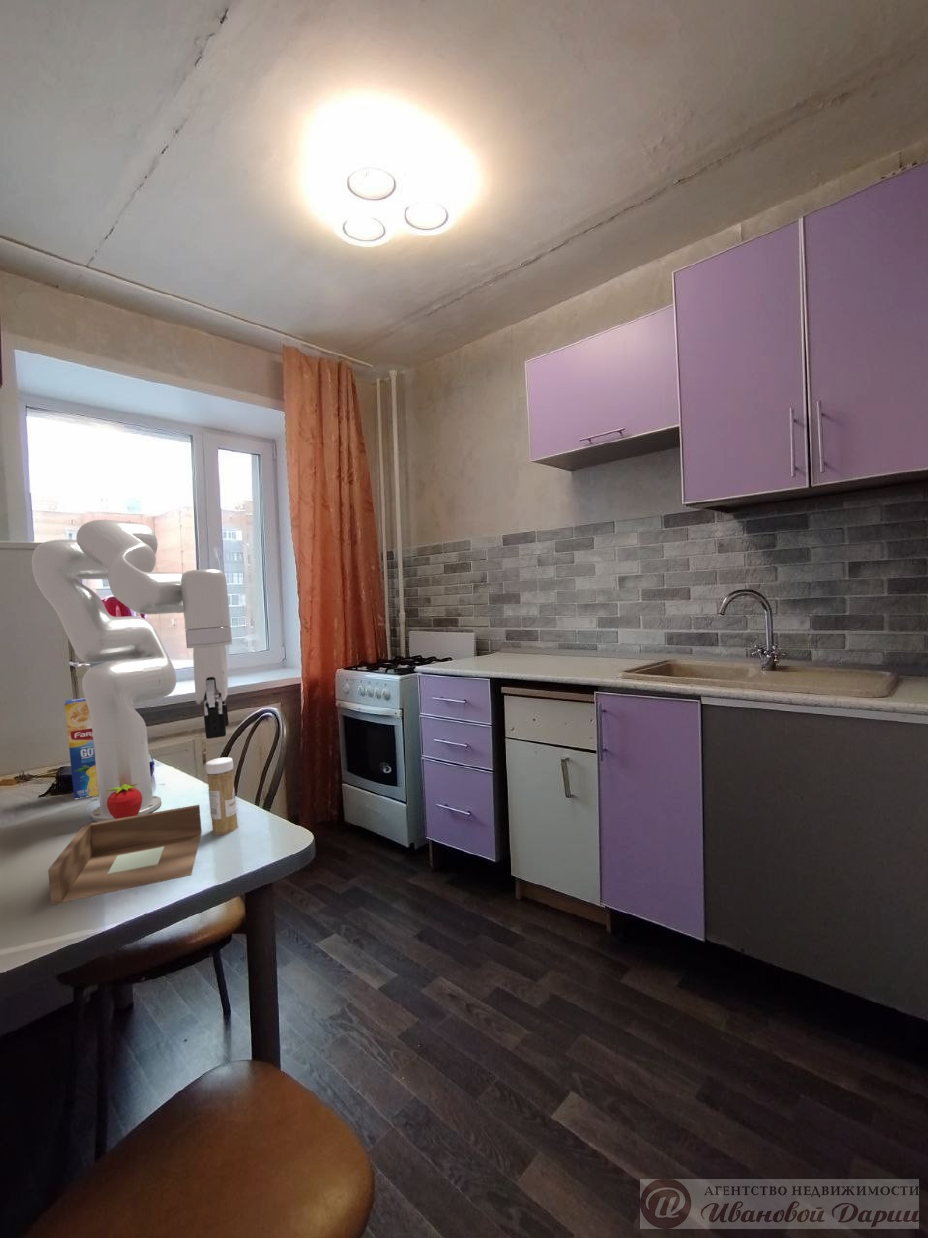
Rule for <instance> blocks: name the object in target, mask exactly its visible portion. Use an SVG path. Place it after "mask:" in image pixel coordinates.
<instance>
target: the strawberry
mask: <svg viewBox="0 0 928 1238" xmlns="http://www.w3.org/2000/svg"><path fill="white" fill-rule="evenodd" d="M118 779H119V778H118ZM119 780H120V779H119ZM121 781H122V780H121ZM122 782H123V781H122ZM135 785H137V784H133V785H126V784H123V785H122V786H121V787H120V788H118V787H117V788H113V789H109V790H106V791H115V792H113V793H112V794H110V796H109V797H108V799H107V807H108V810H109V812H110V814H111V815H112V816H113V817H114V818H115V819H119V818H125V817H131V816H136V815H138V813H139V811H140V809H141V805H142V799H143V798H142V795H141V792H140V791H139V790H138V789H135V788H136V787H133V786H135Z"/></svg>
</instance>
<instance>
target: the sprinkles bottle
mask: <svg viewBox="0 0 928 1238" xmlns="http://www.w3.org/2000/svg"><path fill="white" fill-rule="evenodd" d="M233 769H234V761H233V758H232V757H218V758H214V759H210V760H207V762H206V763H205V771H206V775H207V780H208V781H207V783H208V797H209V800H208V801H209V809H210V818H211V825H212V826H211V827H212V831H211V832H212V833H211V834H213V835H218V836H219V835H226V834H229V833H233V832H234V831H236V830H238V829H239V824H238V816H237V803H236V792H235V784H234V781H235V780H234V774H233Z"/></svg>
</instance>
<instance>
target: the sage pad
mask: <svg viewBox="0 0 928 1238" xmlns="http://www.w3.org/2000/svg"><path fill="white" fill-rule="evenodd" d="M163 850H164V847H160V848H154V849H149V850H144V851H139V852H134V853H128V854H123V855H118V856H117V857H116V859H115V861H114V863H113V865H112V866H111V868H110V870H109V872H108V873H107V875H110V874H115V873H120V872H125V871H130V870H135V869H140V868H145V867H150V866H155V865H158V863H159V860H160V858H161V855H162V853H163Z"/></svg>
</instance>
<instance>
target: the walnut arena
mask: <svg viewBox="0 0 928 1238" xmlns="http://www.w3.org/2000/svg"><path fill="white" fill-rule="evenodd" d="M202 830H203V829H202V820H201V810H200V804H196V805H195V804H194V805H190V806H189V805H188V806H183V807H179V808H178V807H177V808H173V809H167V810H160V811H155V812H150V813H147V814H142V815H136V816H131V817H125V818H119V819H113V820H107V821H102V822H96V821H95V822H90V823H85V824H83V825H82V827H81V828H80V829H79V830H78V832H77V833H76V834H75V836H74V837H73V838H72V839H71V840H70V842H69V843H68V844H67V845H66V847H65V848H64V849H63V850H62V852H61V853H60V854H59V855H58V857H57V858H56V859H55V860H54V862H53V863H52V864H51V865H50V867H49V868H48V869H47V872H48V873H47V874H48V880H49V891H50V902H51V905H57V904H60V903H66V902H70V901H75V900H79V899H84V898H91V897H94V896H99V895H104V894H108V893H114V892H117V891H123V890H127V889H132V888H137V887H141V886H147V885H152V884H156V883H160V882H166V881H170V880H175V879H179V878H184V877H189V876H192V874H193V869H194V865H195V860H196V856H197V853H198V849H199V843H200V840H201V835H202V833H203V831H202ZM160 847H164V850H163V853H162V855H161V858H160V860H159V863H158V865H155V866H150V867H145V868H140V869H135V870H130V871H125V872H120V873H115V874H110V875H107V873H108V872H109V870H110V868H111V866H112V865H113V863H114V861H115V859H116V857H117V856H118V855H123V854H128V853H134V852H139V851H144V850H149V849H154V848H160Z"/></svg>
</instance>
